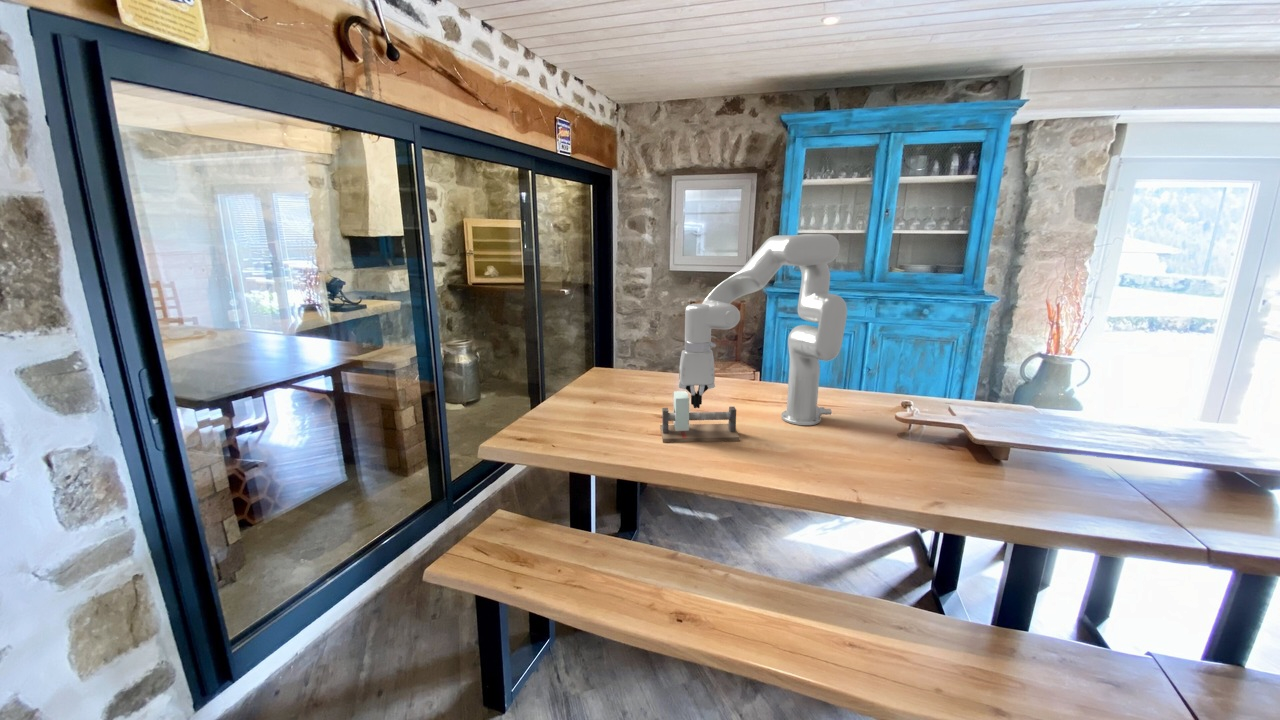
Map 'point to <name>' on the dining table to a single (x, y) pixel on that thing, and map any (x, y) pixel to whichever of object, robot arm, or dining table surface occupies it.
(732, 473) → the dining table surface
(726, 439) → the rod stand
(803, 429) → the dining table surface
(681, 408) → the sleeve block
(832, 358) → the robot arm
